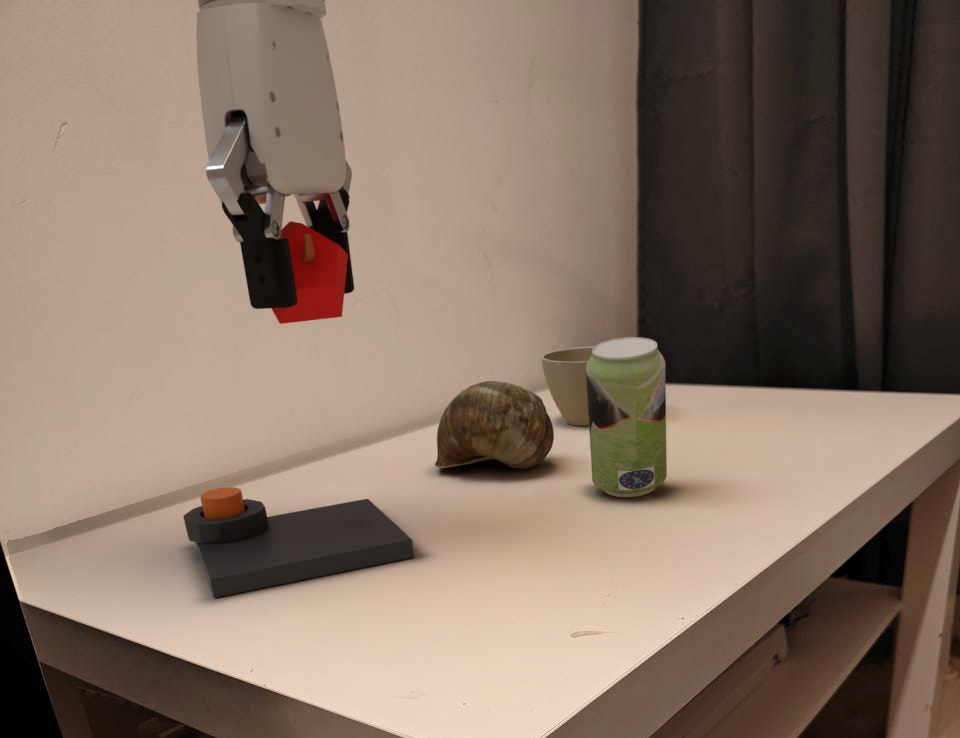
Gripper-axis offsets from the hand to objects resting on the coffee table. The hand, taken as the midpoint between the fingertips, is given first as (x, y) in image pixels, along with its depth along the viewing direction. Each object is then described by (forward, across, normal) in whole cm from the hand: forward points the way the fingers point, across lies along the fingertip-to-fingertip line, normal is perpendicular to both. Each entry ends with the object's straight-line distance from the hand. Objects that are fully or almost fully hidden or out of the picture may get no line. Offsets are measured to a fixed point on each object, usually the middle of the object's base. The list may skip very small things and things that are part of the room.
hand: (305, 298), depth 64 cm
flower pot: (+18, -40, +10) cm, 45 cm away
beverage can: (+18, -14, +19) cm, 30 cm away
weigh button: (+15, +3, -8) cm, 17 cm away
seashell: (+18, -21, +6) cm, 28 cm away
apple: (+2, 0, 0) cm, 2 cm away
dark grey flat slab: (+17, +3, -2) cm, 18 cm away
